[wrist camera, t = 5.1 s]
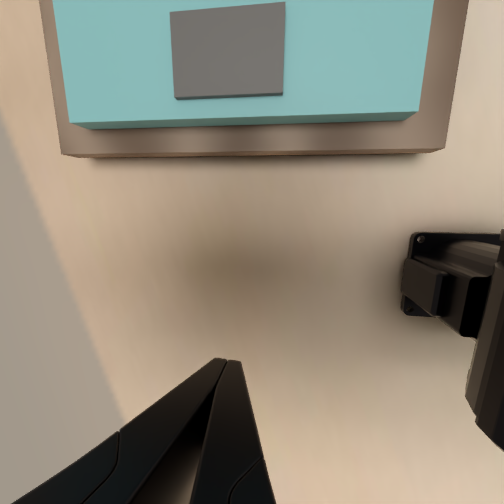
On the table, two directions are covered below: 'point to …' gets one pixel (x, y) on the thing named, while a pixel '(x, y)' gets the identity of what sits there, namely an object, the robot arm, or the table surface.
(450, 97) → the base
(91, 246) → the table surface
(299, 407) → the table surface
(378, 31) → the plate
